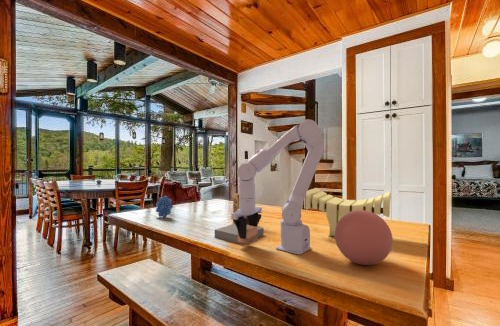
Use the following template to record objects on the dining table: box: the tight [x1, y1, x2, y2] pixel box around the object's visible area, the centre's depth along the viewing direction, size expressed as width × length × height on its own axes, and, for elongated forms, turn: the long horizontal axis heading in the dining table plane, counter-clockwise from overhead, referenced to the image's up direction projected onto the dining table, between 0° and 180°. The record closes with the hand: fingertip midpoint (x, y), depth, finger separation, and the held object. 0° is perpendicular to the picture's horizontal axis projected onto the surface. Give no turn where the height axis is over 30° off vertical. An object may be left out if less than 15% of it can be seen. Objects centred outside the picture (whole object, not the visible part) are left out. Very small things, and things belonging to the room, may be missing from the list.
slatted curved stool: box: [304, 187, 392, 238], centre depth 102 cm, size 30×16×18 cm, turn 59°
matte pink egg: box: [334, 210, 394, 266], centre depth 76 cm, size 15×20×15 cm
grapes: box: [155, 195, 174, 219], centre depth 139 cm, size 12×7×12 cm, turn 64°
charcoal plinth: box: [214, 223, 264, 245], centre depth 102 cm, size 14×14×3 cm
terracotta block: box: [238, 225, 259, 245], centre depth 89 cm, size 5×5×5 cm
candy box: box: [232, 192, 249, 225], centre depth 119 cm, size 9×4×15 cm, turn 123°
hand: (247, 236), depth 89 cm, fingers closed on terracotta block, 5 cm apart
